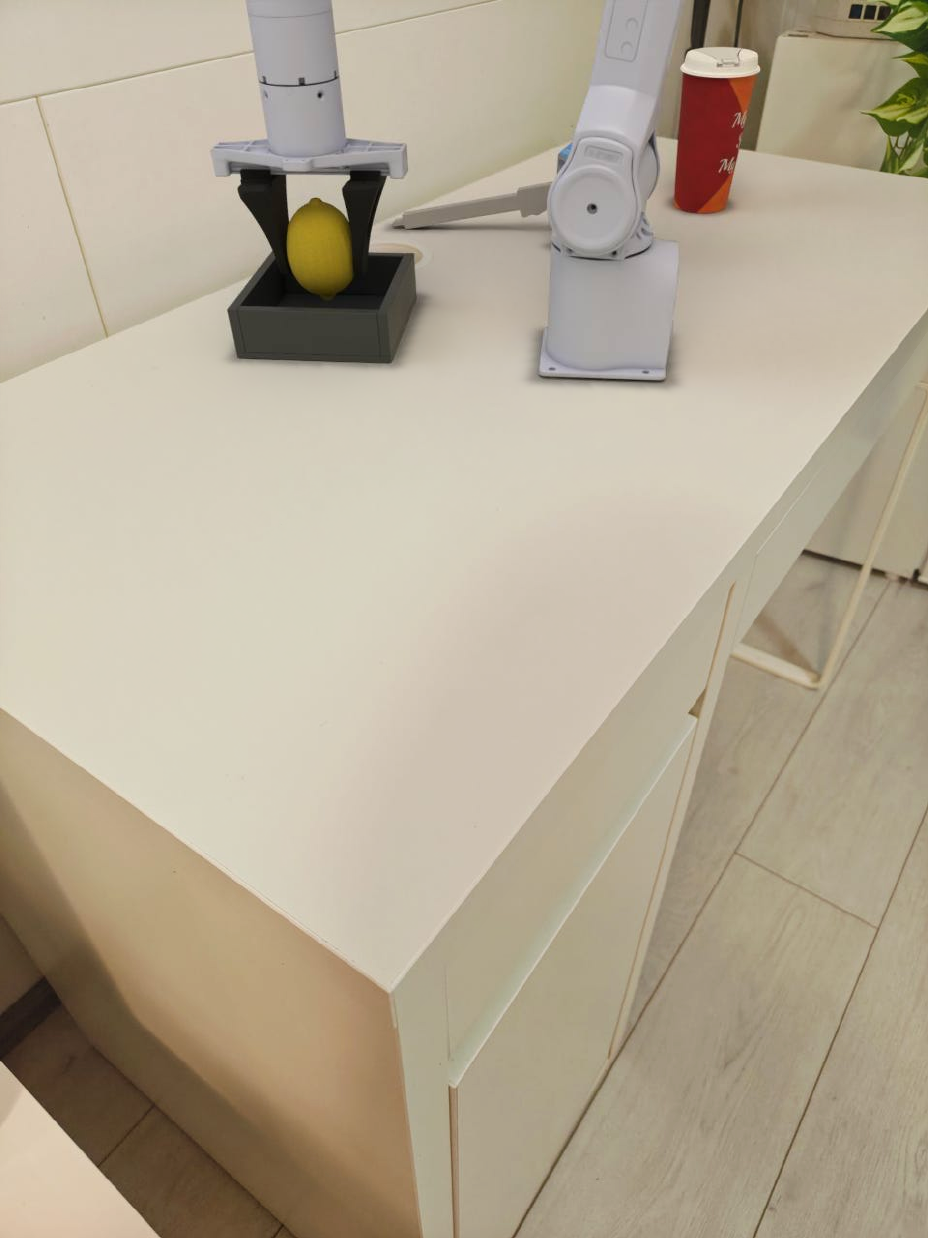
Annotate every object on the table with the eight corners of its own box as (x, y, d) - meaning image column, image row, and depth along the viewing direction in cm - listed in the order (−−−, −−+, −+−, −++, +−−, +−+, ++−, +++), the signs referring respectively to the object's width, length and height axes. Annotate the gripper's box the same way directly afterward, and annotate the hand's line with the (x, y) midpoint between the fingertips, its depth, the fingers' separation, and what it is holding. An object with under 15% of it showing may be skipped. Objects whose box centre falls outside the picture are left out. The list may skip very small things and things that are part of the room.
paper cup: (743, 215, 92) (771, 60, 82) (669, 217, 92) (689, 62, 83) (727, 192, 98) (752, 44, 88) (658, 193, 98) (675, 45, 88)
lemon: (350, 315, 70) (338, 211, 65) (285, 311, 71) (268, 207, 66) (369, 288, 74) (359, 187, 69) (307, 285, 75) (293, 185, 70)
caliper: (588, 231, 90) (593, 164, 86) (587, 235, 89) (592, 167, 85) (393, 225, 92) (389, 160, 88) (391, 229, 92) (386, 163, 87)
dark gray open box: (416, 298, 78) (414, 252, 76) (391, 363, 69) (386, 313, 66) (280, 294, 80) (272, 249, 77) (237, 357, 70) (226, 309, 68)
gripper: (180, 90, 60) (222, 287, 69) (389, 90, 58) (403, 292, 67) (214, 68, 65) (249, 254, 74) (407, 67, 63) (418, 258, 73)
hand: (324, 270), depth 71 cm, fingers closed on lemon, 5 cm apart
